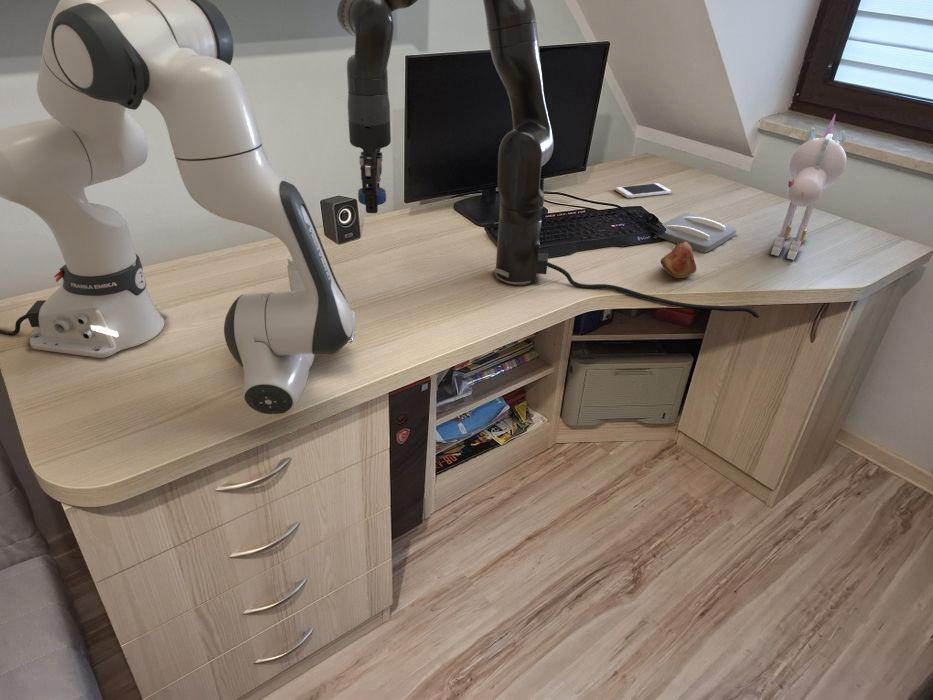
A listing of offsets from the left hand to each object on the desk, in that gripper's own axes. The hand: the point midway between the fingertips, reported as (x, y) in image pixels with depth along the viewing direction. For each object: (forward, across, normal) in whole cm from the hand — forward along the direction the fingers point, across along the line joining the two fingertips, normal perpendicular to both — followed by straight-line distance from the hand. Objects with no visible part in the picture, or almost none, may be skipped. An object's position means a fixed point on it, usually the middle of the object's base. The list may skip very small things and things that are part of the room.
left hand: (306, 303), depth 119 cm
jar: (-1, 0, +6) cm, 6 cm away
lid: (+15, -12, -16) cm, 25 cm away
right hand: (+15, -12, -13) cm, 23 cm away
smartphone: (+83, -86, +6) cm, 119 cm away
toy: (+49, -117, +6) cm, 127 cm away
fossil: (+28, -80, +6) cm, 85 cm away
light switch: (+50, -91, +6) cm, 105 cm away
